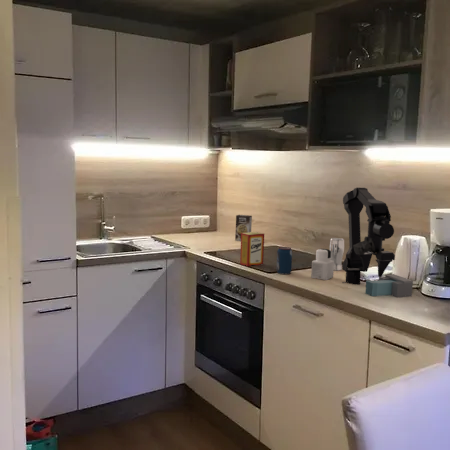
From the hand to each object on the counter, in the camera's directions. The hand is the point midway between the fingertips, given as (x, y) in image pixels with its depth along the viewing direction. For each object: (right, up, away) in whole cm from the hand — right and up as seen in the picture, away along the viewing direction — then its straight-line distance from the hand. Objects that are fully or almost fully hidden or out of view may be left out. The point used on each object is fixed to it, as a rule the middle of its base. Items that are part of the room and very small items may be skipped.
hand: (372, 274), depth 213 cm
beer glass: (-4, -3, +53) cm, 53 cm away
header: (+10, -9, +5) cm, 14 cm away
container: (-14, -5, +34) cm, 37 cm away
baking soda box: (-44, -1, +59) cm, 74 cm away
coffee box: (-46, +9, +133) cm, 141 cm away
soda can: (-30, -3, +41) cm, 51 cm away
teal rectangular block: (+5, -8, +3) cm, 10 cm away
